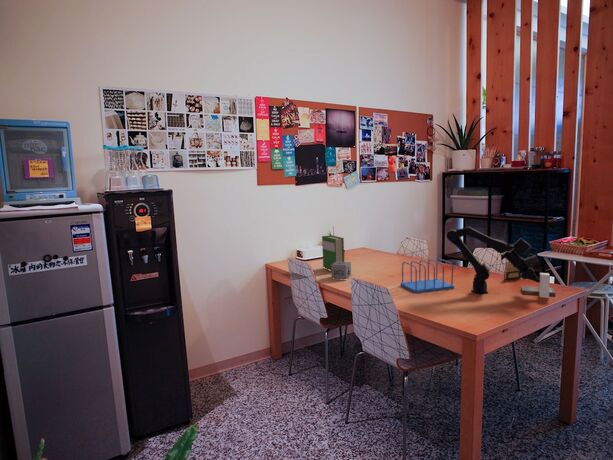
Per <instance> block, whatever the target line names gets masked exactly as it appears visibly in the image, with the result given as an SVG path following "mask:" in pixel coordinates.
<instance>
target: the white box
mask: <svg viewBox="0 0 613 460" xmlns="http://www.w3.org/2000/svg"><path fill="white" fill-rule="evenodd" d="M550 278H551V277H550V273H549V272H539V280H540V282H539V283H538V285H539V286H538V287H539V295H538V296H539V298H543V299H545V298H546V299H550V296H549V287H550Z"/></svg>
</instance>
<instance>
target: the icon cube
mask: <svg viewBox="0 0 613 460" xmlns="http://www.w3.org/2000/svg"><path fill="white" fill-rule="evenodd" d="M330 273H331V279H332V278H334V279H348V278H349V277H350V276H351V277H352V262H351V261H344V262H338V261H336V262H335V263H333V264H331V271H330ZM351 277H350V278H351ZM350 278H349V279H350ZM349 279H348V280H349Z"/></svg>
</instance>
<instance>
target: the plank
mask: <svg viewBox="0 0 613 460" xmlns="http://www.w3.org/2000/svg"><path fill="white" fill-rule="evenodd" d="M520 290H521V293H522V295H530V296H531V295H534V296H539V286H529V285H521V289H520ZM549 297H556V291H555V289H554V288H553V287H550V286H549Z"/></svg>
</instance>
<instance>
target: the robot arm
mask: <svg viewBox="0 0 613 460" xmlns="http://www.w3.org/2000/svg"><path fill="white" fill-rule="evenodd" d="M465 236H470V237H472V238H474V239H475V240H478V241H480V242H482V243H484V244H486V245H488V246H489V247H490V248H491V249H493V250H495V251H496V252H497V253H498V254H500V261H503V260H504V259H506V261H507V262H508V261H509V262H510V263H511V264H512V265H513V267H514V268H516V269H517V270H518V271H519V272H520V273H521V278H522V279H523V280H526V279H528V280H530V281H532V282H535V283H538V284H539V283H540V278H538V276H537V275H536V273H535V269H534V267H532V266H533V264H535V263H536V264H537V263H539V262H540V260H539V259H538V257H537V254H532V253H528V255H527V257H526V258H524V257H522V256H520V255H524V254H525V253H526V252H528V251H529V250H530V249H531V248H532V246H531V244H530V243H529V242H527V241H525V240H524V239H523V238H522V237H520V238H519V239H518V240H517V241H516V242H515V243H507V242H506V241H504V240H501V239H496V238H494V237H491V236H488V235H486V234H485V233H482V232H480V231H478V230H476V229H474V228H473V227H471V226H466V227H462V228H458V229H449V230H448V231H447V233H446V239H447V240H448V241H449V242H451V243H452V244H453V245H455V246H456V247H457V249H459V251H460V252H461V254H462V255H463V256H464V257H465V258H466V261H468V262H469V263H470V265H471V266H472V267H473V269H474V271H475V273H476V274H475V275H473V276H474V277H473V280H472V289H471V290H470V292H472V293H474V294H477V295H481V294H488V293H489V291H487V290H488V287H487V286H488V284H487V281H486V280H488V279H489V278H490V273H491V272H490V268H489V267H488V266H487V265H486V263H485V262H483V263H481V262H480V261H479V260H478V259H477V257H476V256H475V255H474V254H473V252H472V251H471V250H470V249H469V248H468V246H467V245H466V244H465V242H463V239H462V237H465Z"/></svg>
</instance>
